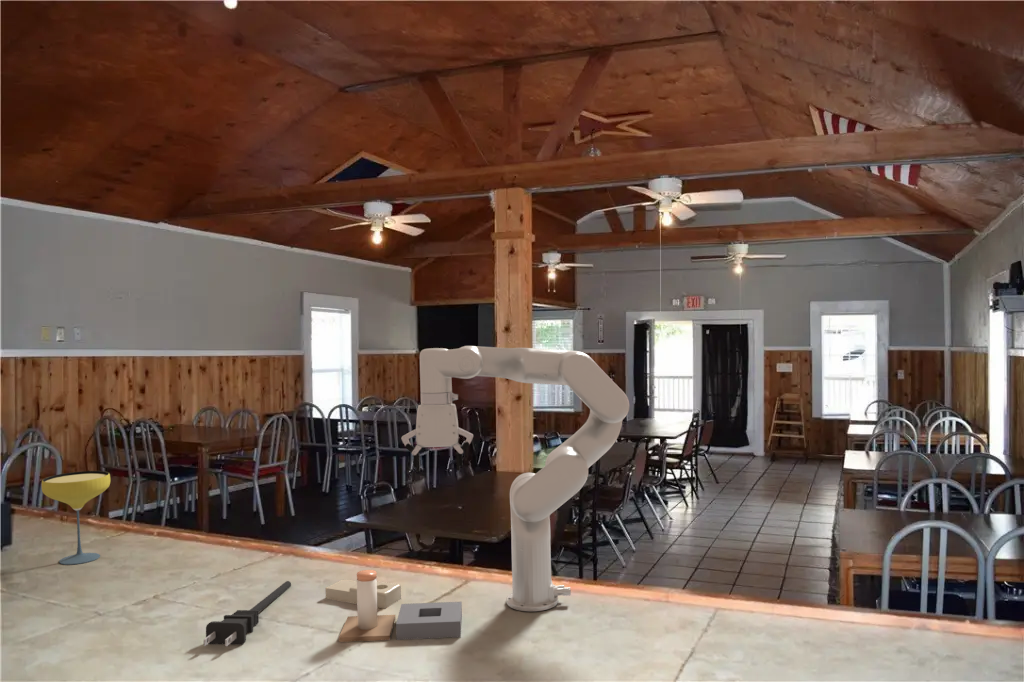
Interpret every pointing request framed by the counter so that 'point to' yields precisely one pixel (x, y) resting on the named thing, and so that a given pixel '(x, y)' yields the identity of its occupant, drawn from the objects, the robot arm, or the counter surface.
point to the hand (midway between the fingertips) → (438, 470)
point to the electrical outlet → (348, 592)
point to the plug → (367, 599)
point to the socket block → (429, 620)
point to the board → (377, 633)
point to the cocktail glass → (76, 500)
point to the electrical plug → (239, 622)
